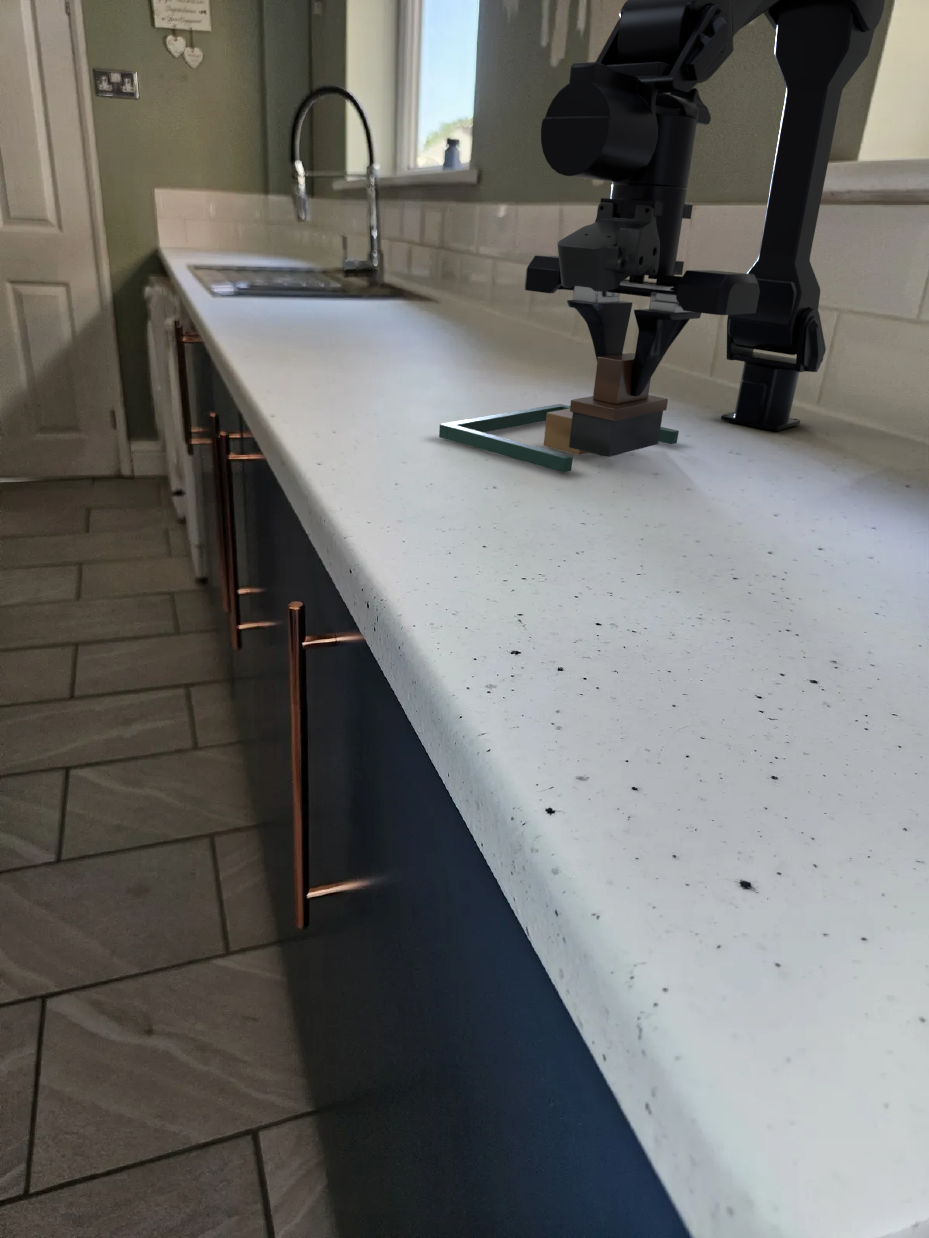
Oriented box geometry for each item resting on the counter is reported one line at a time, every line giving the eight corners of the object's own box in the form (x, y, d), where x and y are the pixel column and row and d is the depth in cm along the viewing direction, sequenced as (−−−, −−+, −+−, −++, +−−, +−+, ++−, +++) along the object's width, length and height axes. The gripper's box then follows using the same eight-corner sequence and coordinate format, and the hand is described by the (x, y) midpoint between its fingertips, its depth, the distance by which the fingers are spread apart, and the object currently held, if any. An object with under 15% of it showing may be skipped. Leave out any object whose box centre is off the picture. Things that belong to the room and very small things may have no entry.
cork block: (569, 440, 81) (572, 407, 79) (605, 449, 78) (609, 415, 77) (542, 446, 78) (546, 412, 76) (579, 455, 75) (583, 420, 74)
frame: (558, 415, 91) (559, 403, 90) (677, 443, 82) (679, 430, 82) (438, 437, 78) (439, 424, 78) (564, 473, 70) (565, 458, 69)
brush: (619, 434, 80) (630, 349, 76) (661, 444, 77) (675, 357, 74) (565, 447, 74) (575, 356, 71) (608, 458, 71) (621, 364, 68)
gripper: (489, 176, 67) (475, 383, 73) (709, 183, 56) (670, 425, 62) (573, 186, 75) (554, 372, 81) (781, 194, 64) (740, 409, 70)
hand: (621, 392), depth 73 cm, fingers closed on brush, 2 cm apart
